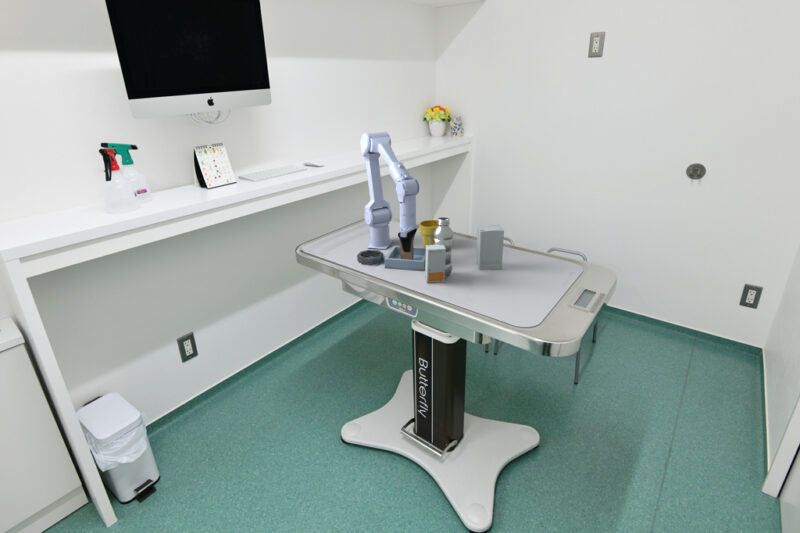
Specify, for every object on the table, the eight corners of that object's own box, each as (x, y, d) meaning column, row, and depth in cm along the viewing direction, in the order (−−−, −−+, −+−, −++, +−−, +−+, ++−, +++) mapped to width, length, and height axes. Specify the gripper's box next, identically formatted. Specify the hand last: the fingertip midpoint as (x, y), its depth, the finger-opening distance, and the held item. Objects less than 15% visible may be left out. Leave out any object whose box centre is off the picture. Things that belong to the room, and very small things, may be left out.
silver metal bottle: (433, 271, 158) (434, 215, 150) (452, 272, 157) (455, 216, 149) (430, 278, 152) (431, 220, 145) (450, 279, 151) (453, 222, 143)
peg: (402, 256, 168) (402, 235, 165) (413, 257, 167) (413, 236, 164) (400, 260, 164) (400, 239, 161) (411, 261, 163) (411, 240, 160)
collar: (362, 255, 173) (362, 249, 172) (385, 256, 171) (385, 250, 170) (355, 264, 165) (354, 257, 164) (379, 266, 163) (378, 259, 162)
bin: (393, 254, 174) (393, 245, 172) (429, 256, 171) (430, 247, 169) (384, 268, 161) (384, 258, 160) (423, 271, 158) (423, 261, 157)
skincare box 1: (426, 283, 149) (427, 249, 144) (424, 277, 153) (425, 244, 148) (445, 282, 149) (446, 248, 144) (442, 276, 153) (443, 243, 148)
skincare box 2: (498, 263, 164) (501, 224, 158) (502, 270, 158) (505, 229, 152) (475, 264, 163) (477, 224, 158) (478, 270, 158) (480, 230, 152)
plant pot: (413, 245, 182) (413, 222, 178) (434, 240, 187) (434, 217, 184) (429, 253, 174) (429, 228, 170) (450, 247, 179) (451, 224, 176)
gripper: (414, 219, 151) (414, 257, 157) (422, 208, 164) (422, 243, 170) (394, 218, 153) (395, 256, 158) (403, 207, 166) (404, 242, 171)
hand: (407, 249), depth 164 cm, fingers closed on peg, 4 cm apart
